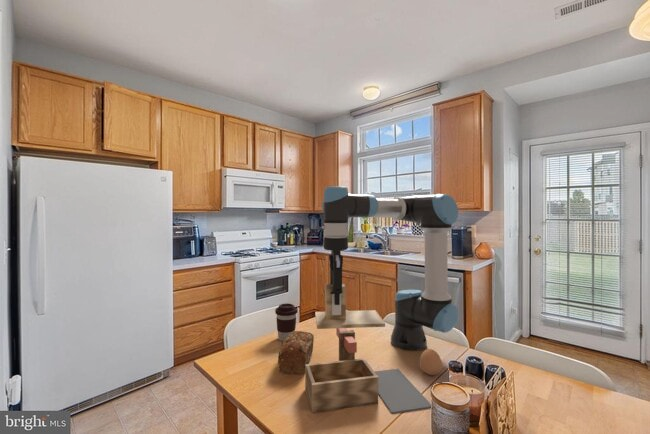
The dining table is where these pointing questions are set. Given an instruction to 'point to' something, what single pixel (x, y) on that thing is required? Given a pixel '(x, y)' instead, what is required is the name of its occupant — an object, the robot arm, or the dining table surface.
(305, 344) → the bread
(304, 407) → the dining table surface
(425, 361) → the egg
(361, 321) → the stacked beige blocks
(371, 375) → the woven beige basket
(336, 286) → the robot arm
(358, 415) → the dining table surface
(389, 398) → the mat
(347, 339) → the red block
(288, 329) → the coffee cup
